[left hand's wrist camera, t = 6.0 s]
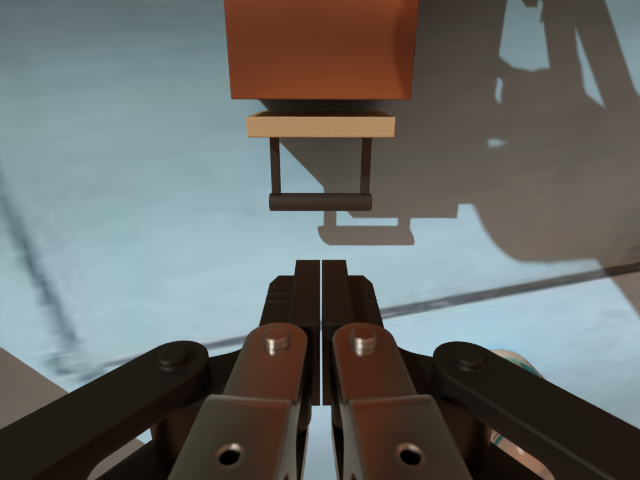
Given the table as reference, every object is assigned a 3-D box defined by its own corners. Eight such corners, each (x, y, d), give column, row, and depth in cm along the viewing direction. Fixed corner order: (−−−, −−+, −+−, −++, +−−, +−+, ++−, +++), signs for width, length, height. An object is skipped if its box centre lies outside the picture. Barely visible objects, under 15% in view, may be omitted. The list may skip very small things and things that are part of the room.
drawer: (375, 198, 32) (388, 225, 26) (265, 198, 32) (252, 225, 26) (397, -223, 23) (427, -340, 17) (244, -223, 23) (217, -341, 17)
